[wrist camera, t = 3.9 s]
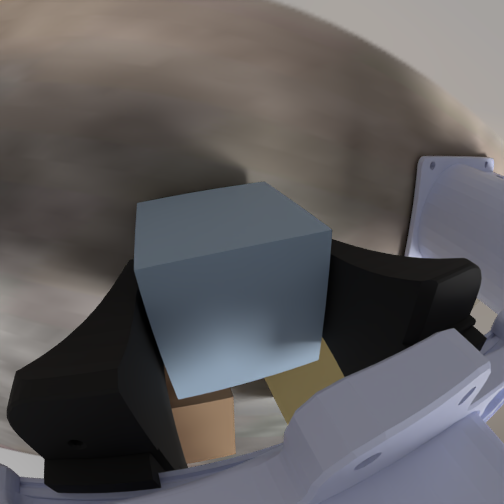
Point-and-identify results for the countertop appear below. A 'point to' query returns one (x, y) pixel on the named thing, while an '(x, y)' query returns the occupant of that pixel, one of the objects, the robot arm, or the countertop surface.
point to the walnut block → (204, 423)
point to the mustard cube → (303, 382)
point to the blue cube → (231, 284)
